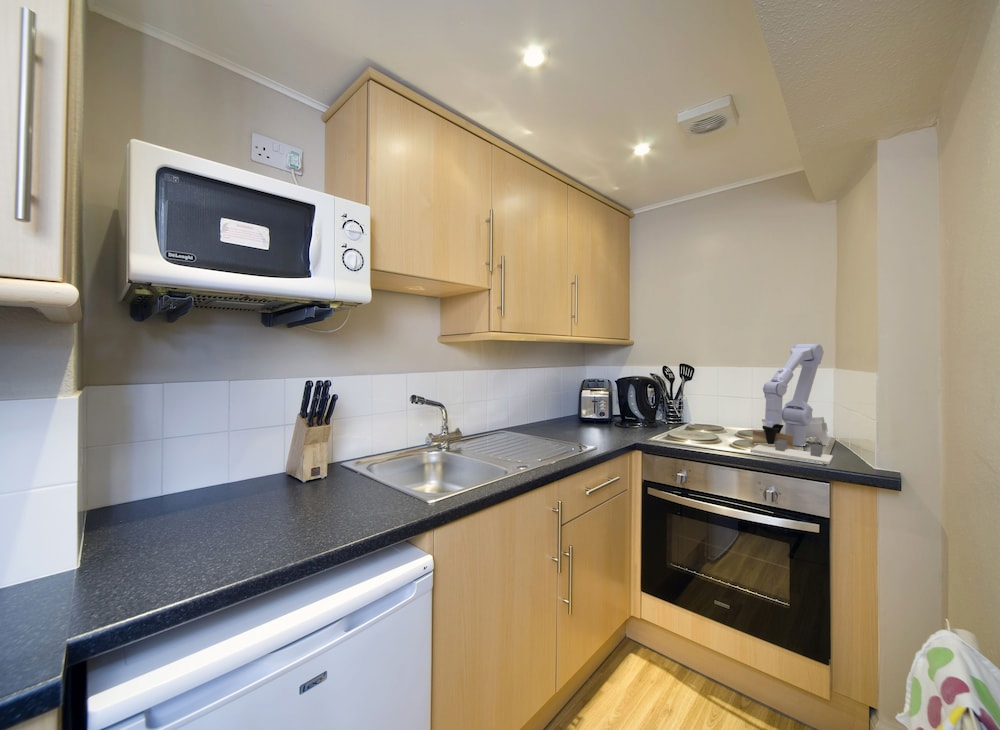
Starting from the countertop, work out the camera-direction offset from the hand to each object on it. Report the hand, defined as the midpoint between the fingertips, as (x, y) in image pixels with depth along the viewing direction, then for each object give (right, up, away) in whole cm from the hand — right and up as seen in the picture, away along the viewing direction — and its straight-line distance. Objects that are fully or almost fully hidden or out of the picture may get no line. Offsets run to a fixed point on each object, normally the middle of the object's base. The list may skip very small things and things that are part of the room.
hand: (772, 442), depth 167 cm
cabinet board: (-2, -2, -14) cm, 14 cm away
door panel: (0, -2, 0) cm, 2 cm away
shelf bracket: (+20, -2, +15) cm, 25 cm away
